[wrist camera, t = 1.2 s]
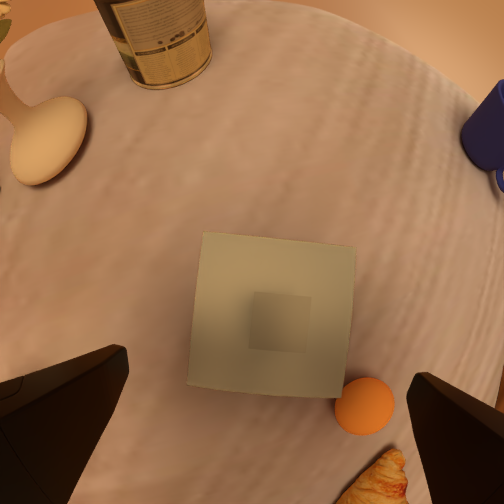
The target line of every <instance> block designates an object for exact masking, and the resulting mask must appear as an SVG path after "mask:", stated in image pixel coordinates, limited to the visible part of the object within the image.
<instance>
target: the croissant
mask: <svg viewBox="0 0 504 504" xmlns="http://www.w3.org/2000/svg"><path fill="white" fill-rule="evenodd" d="M405 461H406V459H405V458H404V456H403V455H402V452H401V451H400V450H397V449H394V448H393V449H391V450H389V451H387V452H386V453H384V454H383V455H382V457H381V458H379V459H378V460H377V461H376V462H375V463H374V464H373V465H372V466H371V467H370V468H368V469H367V470H366V471H365V472H363V473H362V474H361V475H360V476H359V478H358V479H356V481H355V482H354V483H353V484H352V485H351V486H350V487H349V488H348V489H347V490H346V492H344V493H343V494H342V496H341V498H340V499H339V500H338V501H337V502H336V504H409V503H408V501H406V495H405V492H406V488H407V484H408V480H407V478H406V477H405V472H404V471H402V468H403V467H404V465H405Z"/></svg>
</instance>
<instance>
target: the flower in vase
mask: <svg viewBox="0 0 504 504" xmlns="http://www.w3.org/2000/svg"><path fill="white" fill-rule="evenodd" d="M7 1H11V0H0V19H2V18H4V17H5V14H7V13H9V12H10V11H11V9H10V5H9V4H8V3H5V2H7ZM10 26H11V20H10V19H4V20H0V43H1V42H2V41H3V39H4V38H5V37H6V35H7V33H8V31H9V29H10ZM0 113H1V114H2V115H4V116H5V117H6V118H7V119H8V120H9V121H10V122H11V123H12V124H13V126H14V129H15V132H14V136H13V139H12V144H11V150H10V165H11V169H12V171H13V174H14V175H15V177H16V179H17V180H18V181H19V182H20V183H22V184H24V185H37V184H40V183H43V182H46V181H48V180H50V179H51V178H53V177H54V176H56V175H57V174H58V173H60V172H61V171H62V170H63V169H64V168H65V167H66V166H67V165H68V163H69V162H70V161H71V160H72V158H73V157H74V156H75V154H76V153H77V151H78V149H79V147H80V145H81V143H82V141H83V138H84V135H85V132H86V126H87V112H86V109H85V107H84V105H83V104H82V103H81V102H80V101H79V100H77V99H74V98H71V97H67V96H63V97H57V98H53V99H49V100H47V101H45V102H42V103H40V104H38V105H37V106H34V107H29V106H27V105H26V104H24V103H23V102H22V101H21V100H20V99H19V98H18V97H17V96H16V95H15V93H14V92H13V91H12V89H11V88H10V86H9V84H8V82H7V79H6V76H5V61H4V60H3V59H0Z"/></svg>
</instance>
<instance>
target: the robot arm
mask: <svg viewBox="0 0 504 504" xmlns="http://www.w3.org/2000/svg"><path fill="white" fill-rule="evenodd" d="M128 374H129V364H128V356H127V350H126V348H125V347H124V346H120V345H116V344H112V345H109V346H107V347H104V348H101V349H98V350H96V351H93V352H90V353H87V354H85V355H82V356H79V357H76V358H73V359H70V360H68V361H65V362H62V363H59V364H56V365H53V366H50V367H47V368H44V369H42V370H39V371H36V372H33V373H30V374H27V375H25V376H20V377H17V378H14V379H11V380H8V381H4V382H1V383H0V504H67V503H68V501H69V499H70V497H71V495H72V493H73V491H74V489H75V487H76V485H77V482H78V480H79V478H80V476H81V474H82V472H83V470H84V468H85V466H86V464H87V462H88V460H89V459H90V457H91V455H92V453H93V451H94V449H95V447H96V445H97V443H98V441H99V439H100V437H101V435H102V433H103V432H104V430H105V428H106V426H107V424H108V422H109V420H110V418H111V416H112V414H113V412H114V410H115V408H116V405H117V403H118V400H119V397H120V395H121V392H122V390H123V387H124V385H125V382H126V380H127V377H128ZM406 399H407V404H408V409H409V414H410V419H411V424H412V429H413V434H414V438H415V441H416V445H417V448H418V451H419V455H420V458H421V462H422V465H423V469H424V473H425V476H426V480H427V484H428V488H429V492H430V496H431V500H432V504H504V413H502V412H500V411H498V410H497V409H495V408H493V407H491V406H489V405H487V404H485V403H483V402H482V401H480V400H478V399H476V398H474V397H472V396H471V395H469V394H467V393H465V392H463V391H461V390H459V389H458V388H456V387H454V386H452V385H450V384H449V383H447V382H445V381H443V380H441V379H439V378H438V377H436V376H434V375H432V374H430V373H428V372H419V373H416V374H415V376H414V378H413V380H412V382H411V385H410V387H409V389H408V392H407V396H406Z"/></svg>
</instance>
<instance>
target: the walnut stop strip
mask: <svg viewBox="0 0 504 504" xmlns="http://www.w3.org/2000/svg"><path fill="white" fill-rule="evenodd" d="M495 409H497V410H498V411H500V412H502V413H504V367H503V373H502V378H501V384H500V389H499V393H498V398H497V402H496V406H495Z"/></svg>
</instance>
